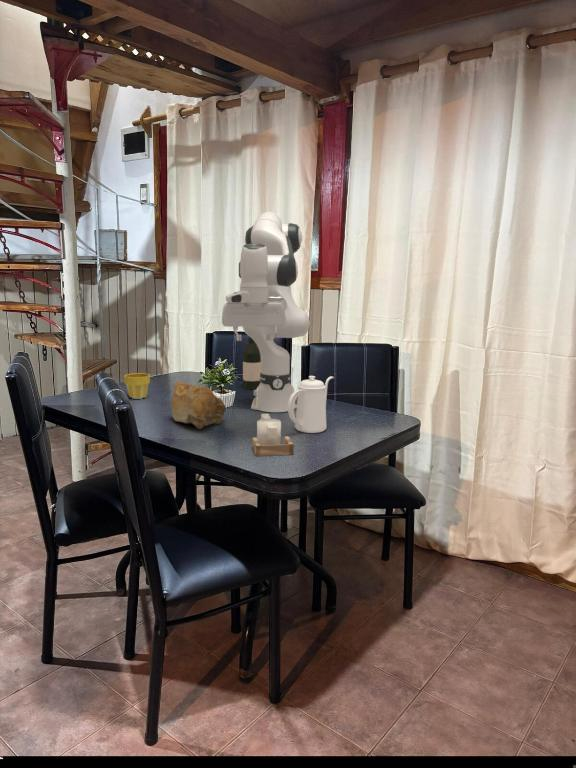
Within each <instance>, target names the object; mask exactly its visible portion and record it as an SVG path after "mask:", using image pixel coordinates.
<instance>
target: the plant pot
mask: <svg viewBox="0 0 576 768" xmlns="http://www.w3.org/2000/svg"><path fill="white" fill-rule="evenodd" d="M123 379H124V384H125V385H126V389H127V393H128V397H129V396H130V397H132V398H141V397H146V398H147V395H148V390H149V384H150V383H151V375H150V373H143V372H137V373H134V372H133V373H126V374H125V375H124V377H123ZM130 397H129V398H130Z"/></svg>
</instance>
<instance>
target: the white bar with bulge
mask: <svg viewBox="0 0 576 768" xmlns="http://www.w3.org/2000/svg"><path fill="white" fill-rule="evenodd" d="M256 437H257V440H258V442H259V444H260V445H277V444H282V443H281V442H282V421H281V420H280V419H278V418H271V416H270V414H269V413H260V419H258V420H257V421H256Z"/></svg>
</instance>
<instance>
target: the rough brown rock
mask: <svg viewBox="0 0 576 768" xmlns="http://www.w3.org/2000/svg"><path fill="white" fill-rule="evenodd" d="M226 408H227V407H226V405H225V403H224V401H223V399H222V398H220V397H217V396H216V395H215V394H214V392H213V390H212V389H211V388H209V387H208V386H203V387H202V386H199V385H191V384H189V383H188V382H187V383H186V382H183V381H176V382H175V384H174V388H173V396H172V398H171V413H172V415H171V416H172V418H173V420H174V421H175V422H177V423H183V424H192V425H193V426H195V428H197V429H198V430H200V429H203V428H204V427H206V426H209V425H212V424H217V425H218V424H221V423H222V421H223V418H224V417H223V416H224V415H225V412H226V410H227V409H226Z"/></svg>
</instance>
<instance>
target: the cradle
mask: <svg viewBox="0 0 576 768" xmlns="http://www.w3.org/2000/svg"><path fill="white" fill-rule="evenodd" d="M283 443H284V444H283ZM283 443H281V444H277V445H260V444H259V442H258V440H257V436H256V437H252V449H253V451H254V454H255V456H256V457H261V456H262V457H263V456H265V457H267V456H268V457H269V456H286V455H287V456H288V455H291V456H292V455H294V449H295V448H294V443H293V442H292V440H291V438H290V437H289V436H288V435H287V436H284V442H283Z"/></svg>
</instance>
